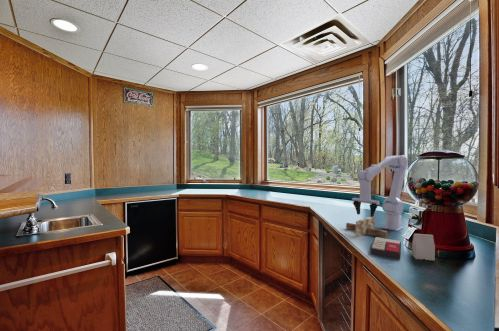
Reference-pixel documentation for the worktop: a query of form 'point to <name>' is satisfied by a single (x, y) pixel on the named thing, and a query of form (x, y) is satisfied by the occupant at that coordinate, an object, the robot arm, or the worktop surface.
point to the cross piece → (364, 225)
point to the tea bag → (423, 247)
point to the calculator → (386, 248)
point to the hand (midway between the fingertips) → (365, 215)
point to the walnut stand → (368, 230)
